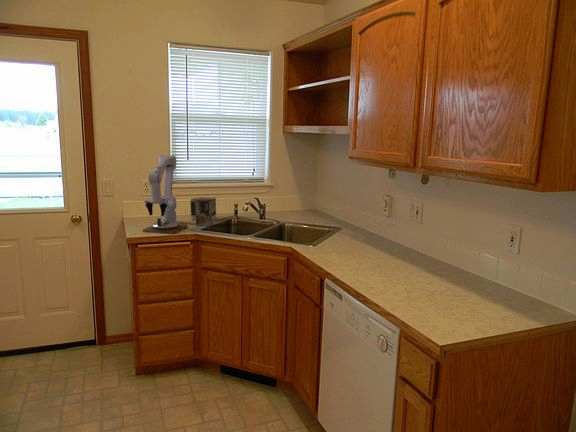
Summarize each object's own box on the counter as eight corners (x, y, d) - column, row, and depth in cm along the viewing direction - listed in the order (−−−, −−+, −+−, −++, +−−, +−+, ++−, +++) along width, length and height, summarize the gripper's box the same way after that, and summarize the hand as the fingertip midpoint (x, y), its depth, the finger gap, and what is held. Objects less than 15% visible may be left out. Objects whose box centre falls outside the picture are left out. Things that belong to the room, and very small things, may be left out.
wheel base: (158, 225, 288) (158, 222, 288) (187, 227, 284) (187, 224, 283) (142, 231, 270) (142, 228, 270) (173, 234, 266) (173, 230, 265)
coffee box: (212, 224, 294) (211, 199, 291) (209, 226, 288) (209, 201, 285) (198, 223, 295) (198, 199, 292) (195, 226, 289) (195, 201, 286)
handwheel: (160, 222, 287) (160, 213, 286) (184, 223, 282) (184, 215, 281) (145, 227, 271) (145, 218, 270) (170, 229, 266) (170, 220, 265)
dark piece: (216, 218, 314) (216, 197, 312) (212, 221, 305) (211, 199, 302) (195, 217, 316) (195, 196, 314) (190, 220, 307) (190, 198, 304)
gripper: (141, 193, 268) (142, 216, 270) (163, 194, 265) (164, 217, 267) (147, 191, 274) (148, 213, 277) (169, 193, 271) (170, 215, 274)
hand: (156, 215), depth 273 cm, fingers open, 7 cm apart
